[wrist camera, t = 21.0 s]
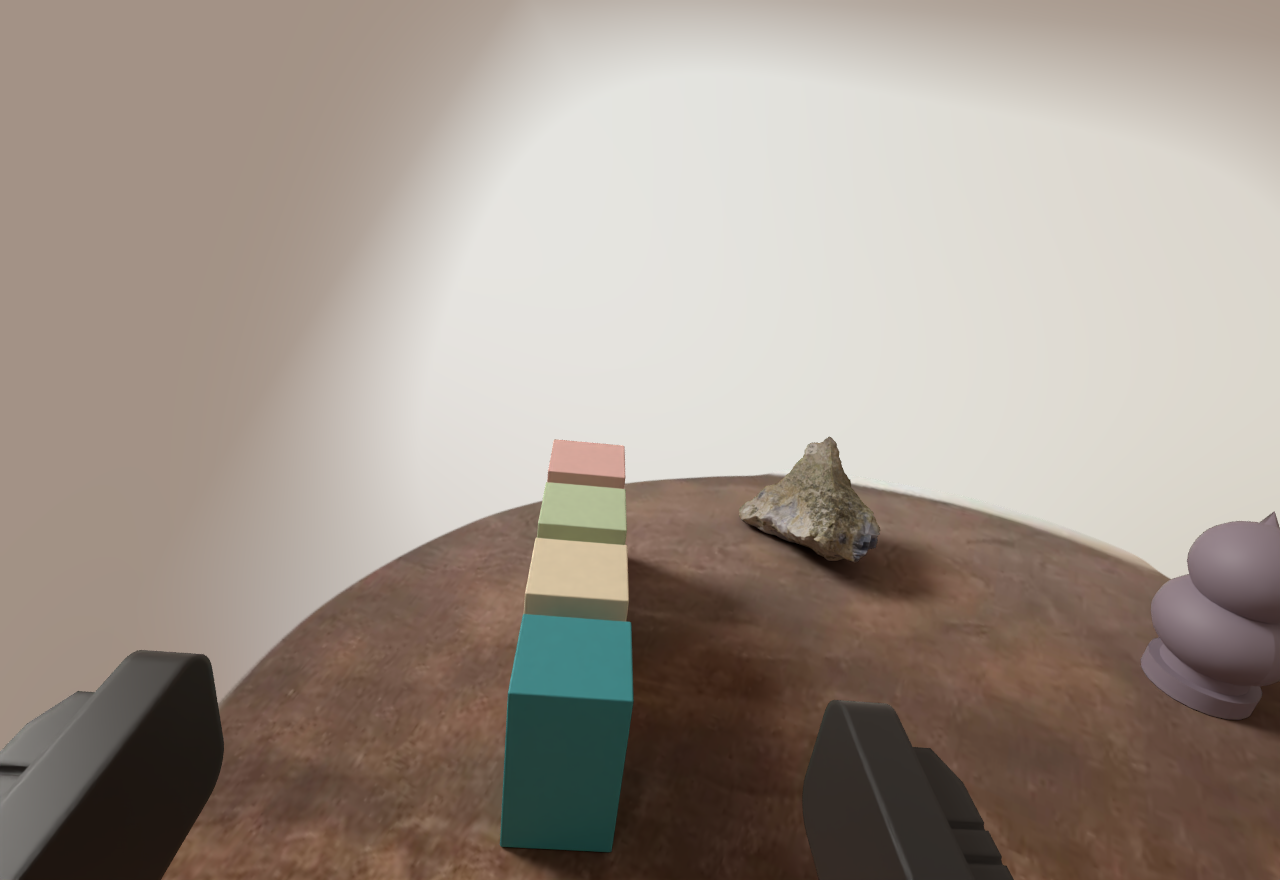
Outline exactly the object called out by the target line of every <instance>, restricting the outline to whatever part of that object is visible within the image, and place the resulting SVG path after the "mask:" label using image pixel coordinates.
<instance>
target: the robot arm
mask: <svg viewBox="0 0 1280 880" xmlns="http://www.w3.org/2000/svg"><path fill="white" fill-rule="evenodd" d="M223 753H224V741H223V734H222V727H221V721H220V715H219V709H218V702H217V697H216V690H215V684H214V677H213V671H212V666H211V662H210V660H209V659H208V657H207V656H205V655H203V654H191V653H176V652H162V651H147V650H139V651H136V652H134V653H132V654H130V655H129V656H128V657H127V658H125V659H124V661H123V662H122V663H121V664H120V665H119V666H118V667H117V668H116V669H115V670H114V672H113V673H112V674H111V675H110V676H109V677H108V678H107V679H106V681H105V682H104V683H103V684H102V685H101V686H100V687H99V688H98V689H97V691H96V692H82V691H77V692H76V693H74V694H73V695H71V696H69V697H68V698H67V699H65V700H63V701H62V702H60V703H59V704H57V705H55V706H54V707H52V708H51V709H49V710H48V711H46V712H45V713H43V714H41V715H40V716H39V717H37V718H35V719H34V720H32V721H31V722H29V723H27V724H26V725H25V726H24V727H23V728H22V730H21V731H19V733H18V734H17V735H16V736H15V737H14V738H13V739H12V740H11V741H10V742H9V743H8V744H7V745H6V746H5V747H4V748H3V749H2V750H1V751H0V880H161V879H162V877H163V875H164V873H165V872H166V870H167V868H168V867H169V865H170V863H171V862H172V860H173V858H174V857H175V855H176V853H177V851H178V850H179V848H180V846H181V845H182V843H183V841H184V840H185V838H186V836H187V835H188V833H189V831H190V829H191V828H192V826H193V824H194V823H195V821H196V819H197V818H198V816H199V814H200V813H201V811H202V809H203V807H204V806H205V804H206V802H207V801H208V799H209V797H210V795H211V793H212V791H213V789H214V787H215V785H216V782H217V779H218V776H219V773H220V769H221V765H222V760H223ZM803 817H804V824H805V829H806V833H807V837H808V841H809V845H810V848H811V852H812V856H813V859H814V863H815V867H816V871H817V874H818V878H819V880H1014V879H1013V877H1012V876H1011V874H1010V872H1009V870H1008V868H1007V866H1004V865H1003V864H1002V861H1001V857H1002V856H1001V854H1000V853H999V851H998V849H997V847H996V845H995V843H994V841H993V839H992V837H991V835H990V833H989V831H985V830H984V822H983V820H982V818H981V816H980V814H979V812H978V810H977V809H976V807H975V805H974V803H973V801H972V799H971V797H970V795H969V793H968V791H967V789H966V787H965V786H964V784H963V782H962V781H961V780H960V779H959V778H958V777H957V776H956V775H955V774H954V773H953V772H952V771H951V770H950V769H949V767H948V766H947V765H946V764H945V763H944V762H943V761H942V760H941V759H940V758H939V757H938V756H937V755H936V754H935V753H934V752H933V751H932V749H931V748H918V747H912V745H911V743H910V741H909V739H908V736H907V734H906V732H905V730H904V728H903V726H902V724H901V722H900V720H899V717H898V715H897V714H896V712H895V710H894V709H893V708H892V707H891V706H890V705H888V704H884V703H870V702H855V701H841V700H832V701H831V702H830V703H829V704H828V706H827V708H826V710H825V713H824V716H823V720H822V723H821V726H820V730H819V733H818V736H817V740H816V743H815V746H814V750H813V753H812V756H811V759H810V763H809V766H808V769H807V773H806V776H805V780H804V786H803Z"/></svg>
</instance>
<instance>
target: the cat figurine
mask: <svg viewBox="0 0 1280 880" xmlns="http://www.w3.org/2000/svg"><path fill="white" fill-rule="evenodd" d="M1187 562H1188V570H1189V574H1187V575H1184V576H1180V577H1177V578H1174V579H1171V580H1170V581H1168V582H1166V583H1165V584H1164V585H1163V586H1162V587H1161V588H1160V589H1159V591H1158V592H1157V593H1156V595H1155V596H1154V598H1153V600H1152V603H1151V614H1152V621H1153V626H1154V628H1155V631H1156V633H1157V634H1158V636H1159V638H1155V639H1153V640H1152V641H1151V642H1150V643H1149V644H1148V646H1147V648H1146V650H1145V652H1144V654H1143V656H1142V658H1141V667H1142V669H1143V670H1144V672H1145V674H1146V675H1147V677H1148V678H1149V679H1150V680H1151V681H1152V682H1153V683H1154V684H1155V685H1156V686H1157V687H1158V688H1160V689H1161V690H1162V691H1164V692H1165V693H1166V694H1168V695H1169V696H1171V697H1172V698H1174V699H1175V700H1177V701H1179V702H1181V703H1183V704H1185V705H1186V706H1188V707H1190V708H1192V709H1195V710H1198V711H1200V712H1203V713H1205V714H1208V715H1211V716H1215V717H1219V718H1223V719H1235V720H1241V719H1244V718H1247V717H1249V716H1250V715H1251V713H1252V712H1253V710H1254V708H1255V707H1256V705H1257V704H1258V702H1259V700H1260V698H1261V696H1262V691H1261V687H1260V686H1265V685H1270V684H1273V683H1276V682H1278V681H1280V527H1279V524H1278V521H1277V518H1276V514H1275V512H1273V513H1272V514H1270V515H1269V516H1268V517H1266V518H1265V519H1264V520H1262V521H1261V522H1260V523H1258V522H1248V521H1247V522H1246V521H1236V522H1229V523H1224V524H1220V525H1216V526H1214V527H1212V528H1209V529H1208V530H1206V531H1205V532H1203V533H1202V534H1201V535H1200V536H1199V537H1198V538H1197V539H1196V541H1195V542H1194V543H1193V545H1192V546H1191V548H1190V550H1189V553H1188V559H1187Z"/></svg>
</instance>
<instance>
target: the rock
mask: <svg viewBox="0 0 1280 880" xmlns="http://www.w3.org/2000/svg"><path fill="white" fill-rule="evenodd" d="M739 512H740V515H739V517H741V519H742V520H743V521H744V522H745V523H748V524H750V525H753V526H756V527H757V528H758V529H760V530H761V531H763V532H765V533H768V534H773V535H776V536H778V537H779V538H782V539H784V540H786V541H789V542H795V543H797V544H800V545H803V546H806V547H810V548H811V549H813V550H814V551H815V552H816V553H817V554H819V555H821V556H823V557H824V558H825V559H827V560H829V561H838V560H840V559H846V560H848V561H851V562H858V560H859V559H861V558H862V557H863V556H865V555H866V553H867V551H868V550H869V549H873V548H876V544H877V541H878V540H877V537H878V536H877V535H879V534H880V533H879V531H880V527H879V525H878V524H877V522H876V519H875V517H874V515H873V512H872V511H871V510H870V509H869V508H868V507H867V506H866V505H864V503H863V502H862V501H861V500H860V498H859V497H858V495H857V494H856V493H855V492H854V490H853V489H852V488H851V483H850V480H849V479H848V477H847V475H846V474H845V473H844V470H843V468H842V465H841V460H840V458H839V451H838V448H837V444H836V442H835V441H834V440H833V439H832V438H831V437H828V438H827V439H825V440H824V442H821V443H810V444H809V445H808V446H807V448H806V449H805V454H804V456H803V458H802V459H800V460H799V461H798V462H797V463H796V465H795V466H794V467H793V469H792V470H791V472H790V473H789V474H787V475H786V476H785V478H783V479H782V480H781V481H780V482H779V483H777V484H774V485H771V486H766V487H764V488H763V489H762V490H761V491H760V492H759V494H758V495H757V496H756V497H755V498H754V499H753V500H752V501H748V502H746V503H745V504H744V505H743V506H742V507H741V508H740V509H739Z"/></svg>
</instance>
